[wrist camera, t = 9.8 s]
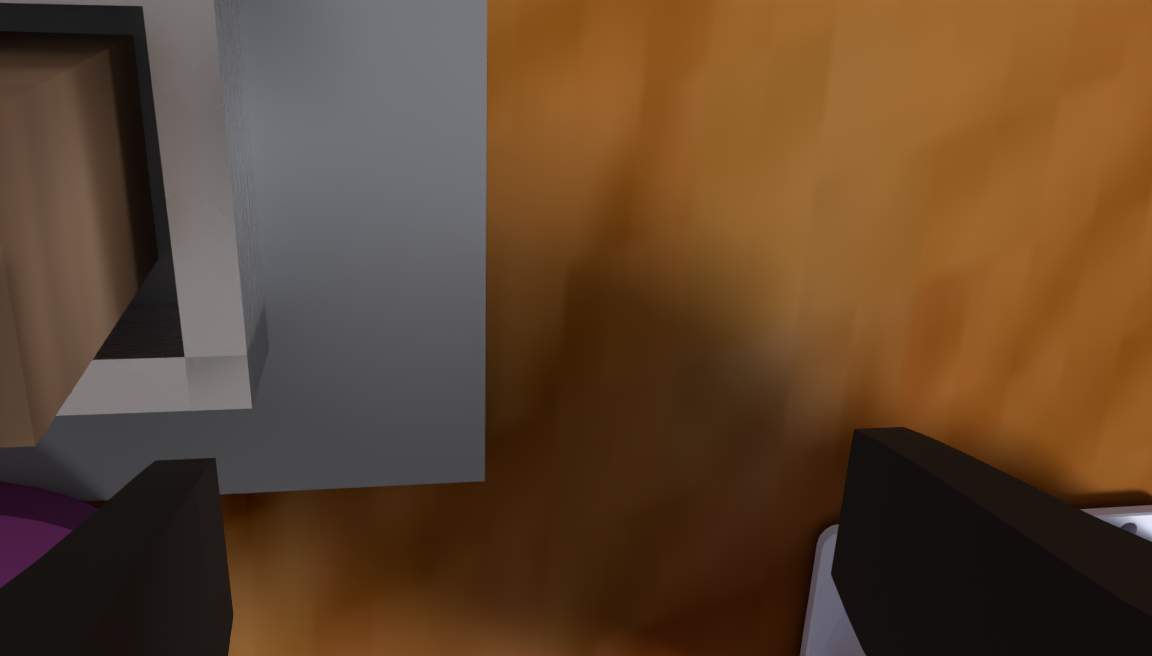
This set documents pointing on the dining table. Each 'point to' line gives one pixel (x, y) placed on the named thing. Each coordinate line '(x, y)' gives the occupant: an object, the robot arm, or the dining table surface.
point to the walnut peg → (66, 214)
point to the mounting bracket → (34, 524)
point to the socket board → (291, 249)
